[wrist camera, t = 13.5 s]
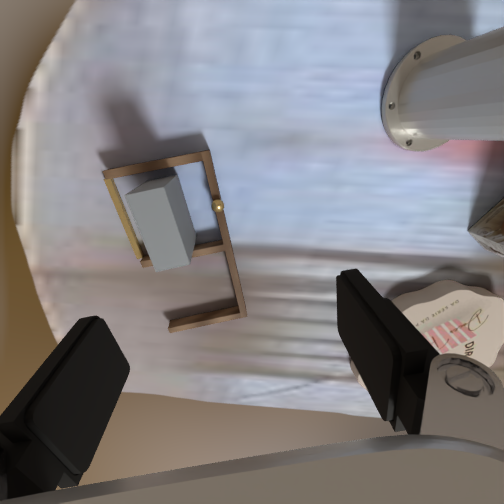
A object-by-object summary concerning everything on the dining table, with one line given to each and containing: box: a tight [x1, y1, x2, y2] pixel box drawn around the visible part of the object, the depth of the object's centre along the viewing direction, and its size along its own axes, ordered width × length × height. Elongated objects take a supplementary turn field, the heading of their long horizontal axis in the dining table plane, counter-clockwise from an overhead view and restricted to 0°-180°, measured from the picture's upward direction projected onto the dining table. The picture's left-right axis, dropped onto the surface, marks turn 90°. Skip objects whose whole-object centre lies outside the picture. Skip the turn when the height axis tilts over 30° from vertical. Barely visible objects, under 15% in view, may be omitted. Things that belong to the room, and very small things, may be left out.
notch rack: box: [103, 150, 247, 333], centre depth 37 cm, size 14×26×3 cm, turn 10°
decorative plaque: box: [350, 280, 504, 391], centre depth 51 cm, size 30×4×30 cm
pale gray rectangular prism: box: [124, 174, 197, 272], centre depth 31 cm, size 4×9×9 cm, turn 11°
